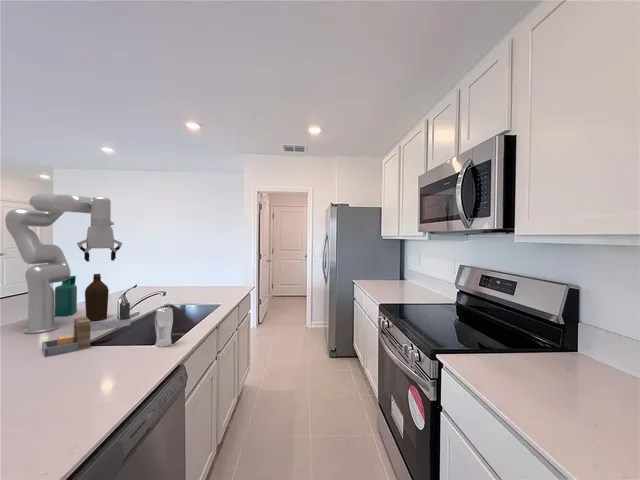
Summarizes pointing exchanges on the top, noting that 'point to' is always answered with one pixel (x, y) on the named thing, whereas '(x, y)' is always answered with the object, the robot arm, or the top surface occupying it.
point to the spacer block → (64, 340)
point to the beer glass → (163, 326)
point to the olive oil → (96, 299)
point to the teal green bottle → (66, 297)
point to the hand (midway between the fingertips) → (100, 260)
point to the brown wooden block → (82, 332)
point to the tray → (57, 348)
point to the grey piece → (122, 321)
